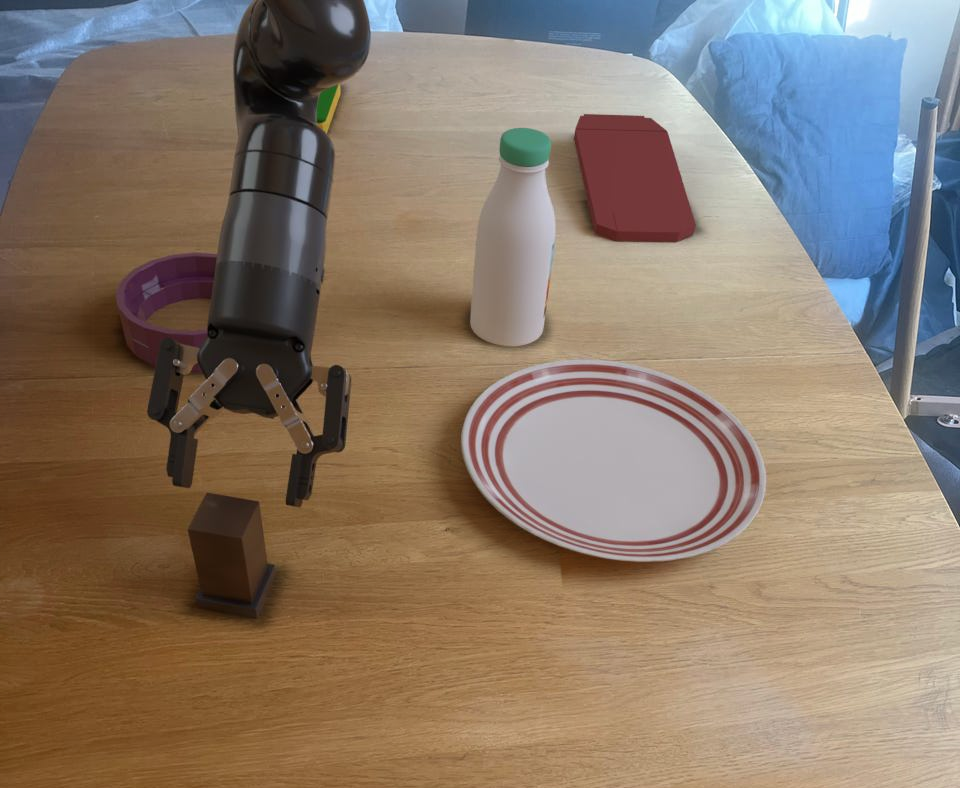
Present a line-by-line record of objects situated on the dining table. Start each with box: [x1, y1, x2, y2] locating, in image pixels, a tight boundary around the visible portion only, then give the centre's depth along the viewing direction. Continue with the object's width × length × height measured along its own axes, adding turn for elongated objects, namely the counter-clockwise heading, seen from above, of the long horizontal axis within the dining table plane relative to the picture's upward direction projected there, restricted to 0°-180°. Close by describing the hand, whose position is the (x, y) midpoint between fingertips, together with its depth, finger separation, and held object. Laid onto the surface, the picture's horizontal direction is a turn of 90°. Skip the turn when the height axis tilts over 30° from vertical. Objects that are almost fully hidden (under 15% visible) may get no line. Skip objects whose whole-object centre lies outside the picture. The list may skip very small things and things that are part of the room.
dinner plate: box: [460, 358, 767, 563], centre depth 90 cm, size 27×27×3 cm
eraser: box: [187, 491, 277, 620], centre depth 75 cm, size 5×5×9 cm
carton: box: [573, 113, 697, 243], centre depth 126 cm, size 12×5×25 cm
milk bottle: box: [469, 127, 556, 347], centre depth 97 cm, size 8×8×20 cm
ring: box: [115, 252, 217, 374], centre depth 98 cm, size 14×14×5 cm
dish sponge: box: [317, 83, 342, 134], centre depth 133 cm, size 7×14×2 cm, turn 177°
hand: (237, 496), depth 73 cm, fingers open, 8 cm apart
